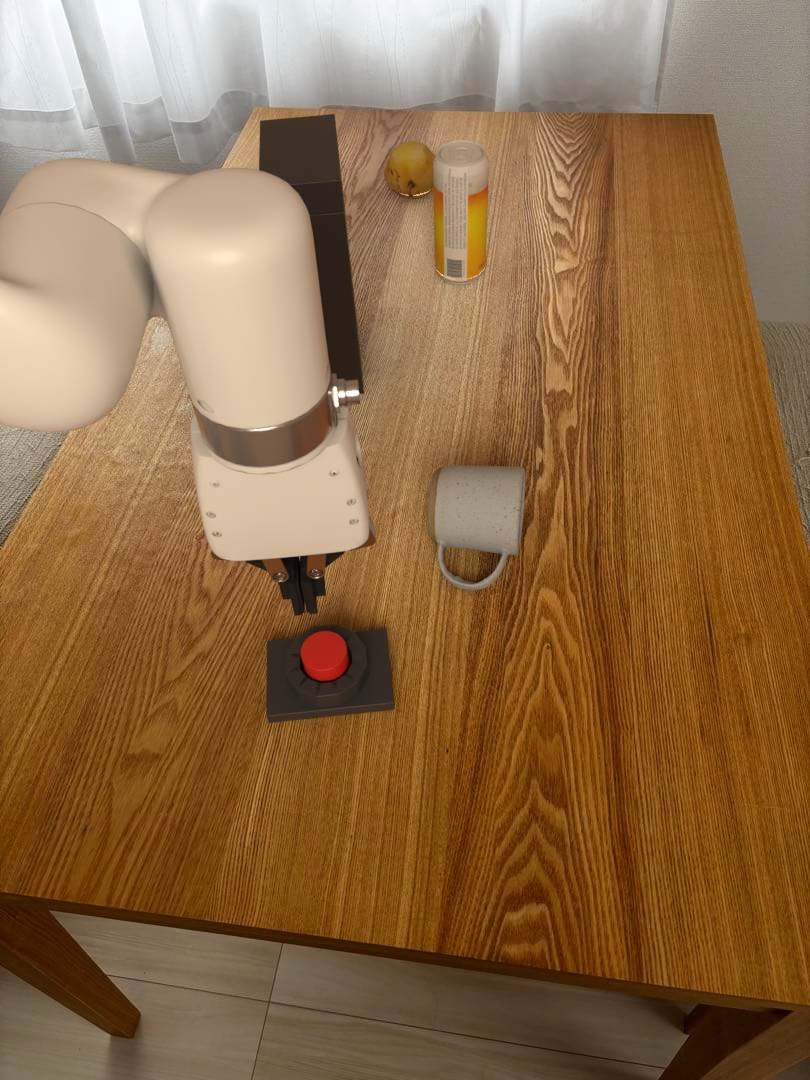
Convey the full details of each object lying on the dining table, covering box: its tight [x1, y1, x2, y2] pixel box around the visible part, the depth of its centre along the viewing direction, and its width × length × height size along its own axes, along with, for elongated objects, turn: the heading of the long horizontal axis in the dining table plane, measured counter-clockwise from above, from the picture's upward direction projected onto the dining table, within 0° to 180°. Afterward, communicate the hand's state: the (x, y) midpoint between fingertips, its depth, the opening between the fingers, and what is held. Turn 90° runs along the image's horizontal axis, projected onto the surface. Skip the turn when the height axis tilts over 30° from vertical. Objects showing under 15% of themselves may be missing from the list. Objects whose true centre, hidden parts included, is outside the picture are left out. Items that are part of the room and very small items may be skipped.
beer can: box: [432, 139, 490, 286], centre depth 99 cm, size 6×6×15 cm
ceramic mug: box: [427, 464, 526, 591], centre depth 76 cm, size 11×8×8 cm
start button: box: [301, 631, 349, 681], centre depth 68 cm, size 4×4×2 cm
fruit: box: [383, 141, 436, 199], centre depth 114 cm, size 7×7×10 cm
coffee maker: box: [258, 113, 365, 395], centre depth 86 cm, size 17×12×24 cm
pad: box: [265, 623, 395, 724], centre depth 70 cm, size 10×7×3 cm
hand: (305, 597), depth 62 cm, fingers closed
